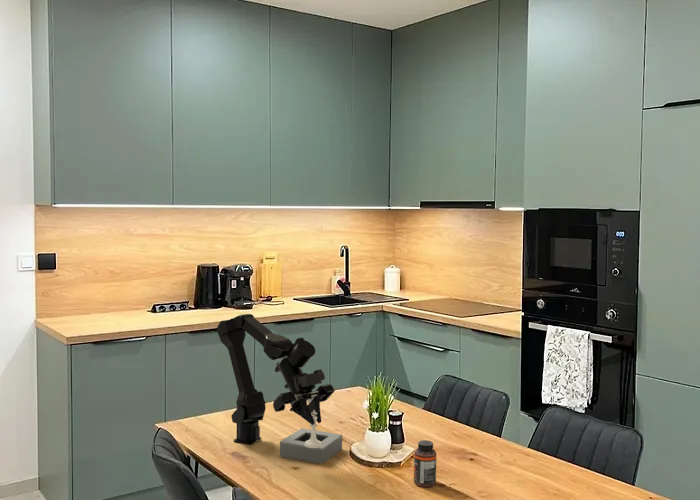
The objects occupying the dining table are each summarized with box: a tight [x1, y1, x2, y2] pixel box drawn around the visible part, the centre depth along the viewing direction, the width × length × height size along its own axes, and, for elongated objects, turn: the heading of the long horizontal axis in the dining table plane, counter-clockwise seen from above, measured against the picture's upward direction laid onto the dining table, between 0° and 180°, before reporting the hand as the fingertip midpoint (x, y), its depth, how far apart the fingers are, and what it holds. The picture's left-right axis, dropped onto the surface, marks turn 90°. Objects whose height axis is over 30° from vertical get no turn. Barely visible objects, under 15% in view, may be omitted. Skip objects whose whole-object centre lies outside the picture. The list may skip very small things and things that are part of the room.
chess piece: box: [304, 410, 322, 448], centre depth 196 cm, size 5×5×10 cm
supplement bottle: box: [413, 439, 437, 488], centre depth 187 cm, size 6×6×11 cm
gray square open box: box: [279, 428, 343, 465], centre depth 209 cm, size 14×14×4 cm
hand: (316, 423), depth 195 cm, fingers closed on chess piece
